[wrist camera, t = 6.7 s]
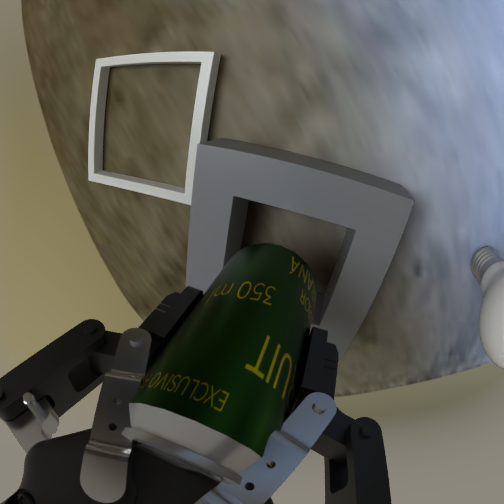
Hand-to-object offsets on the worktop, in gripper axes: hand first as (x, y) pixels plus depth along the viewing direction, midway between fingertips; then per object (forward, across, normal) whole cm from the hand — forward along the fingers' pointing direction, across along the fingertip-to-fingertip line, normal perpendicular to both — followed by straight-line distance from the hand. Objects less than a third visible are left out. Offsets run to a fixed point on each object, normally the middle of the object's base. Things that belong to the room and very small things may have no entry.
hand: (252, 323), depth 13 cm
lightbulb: (+10, -16, -4) cm, 19 cm away
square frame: (+10, +13, -7) cm, 18 cm away
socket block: (+10, 0, 0) cm, 10 cm away
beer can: (+4, 0, 0) cm, 4 cm away
